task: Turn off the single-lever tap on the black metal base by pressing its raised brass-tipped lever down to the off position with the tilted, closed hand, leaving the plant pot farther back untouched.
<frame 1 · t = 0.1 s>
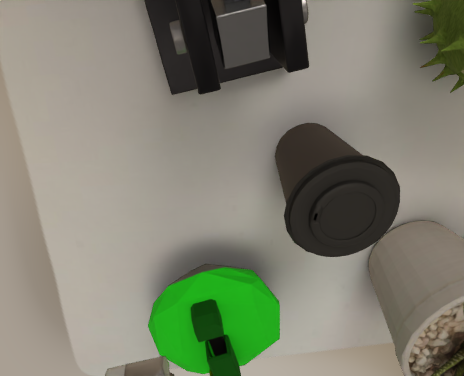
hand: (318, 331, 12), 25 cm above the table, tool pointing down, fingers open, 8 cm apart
potted plant: (405, 256, 45), on the table
coffee cup: (305, 151, 37), on the table
green rounded piece: (211, 283, 43), on the table
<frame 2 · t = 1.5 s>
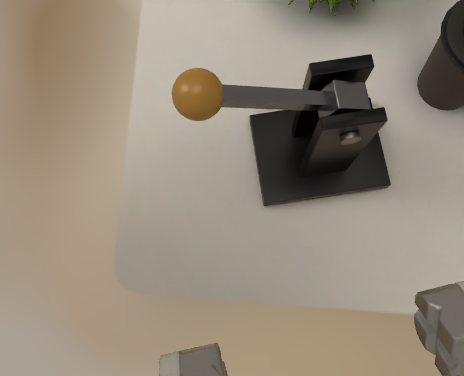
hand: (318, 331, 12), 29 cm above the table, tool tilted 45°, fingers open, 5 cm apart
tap: (316, 152, 43), on the table
coffee cup: (443, 86, 45), on the table
tap lever: (274, 98, 29), point 14 cm above the table, hinge at 25.0°
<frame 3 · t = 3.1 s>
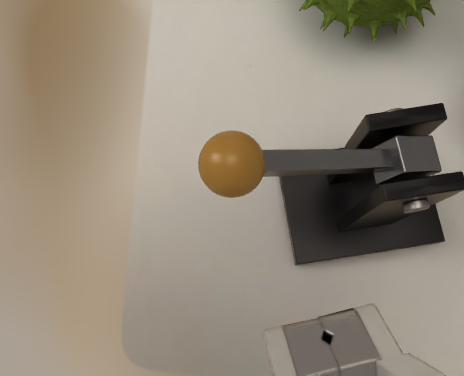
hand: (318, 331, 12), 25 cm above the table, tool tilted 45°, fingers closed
chestnut: (353, 2, 42), on the table
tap: (355, 201, 37), on the table
tap lever: (324, 162, 23), point 14 cm above the table, hinge at 25.0°
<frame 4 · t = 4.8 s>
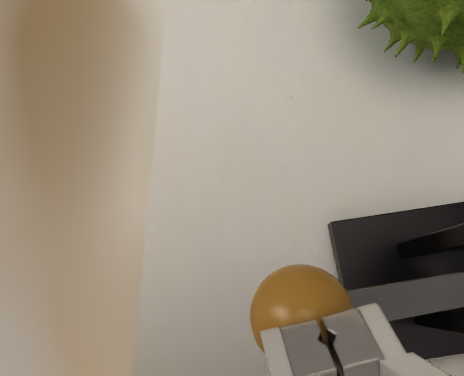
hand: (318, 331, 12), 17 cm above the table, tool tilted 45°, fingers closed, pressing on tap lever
chestnut: (420, 16, 33), on the table
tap: (432, 278, 28), on the table
tap lever: (443, 291, 15), point 14 cm above the table, hinge at 17.0°, touching gripper
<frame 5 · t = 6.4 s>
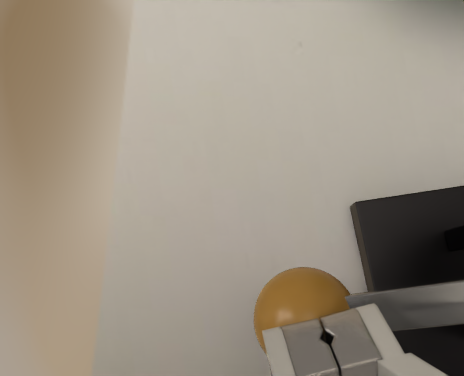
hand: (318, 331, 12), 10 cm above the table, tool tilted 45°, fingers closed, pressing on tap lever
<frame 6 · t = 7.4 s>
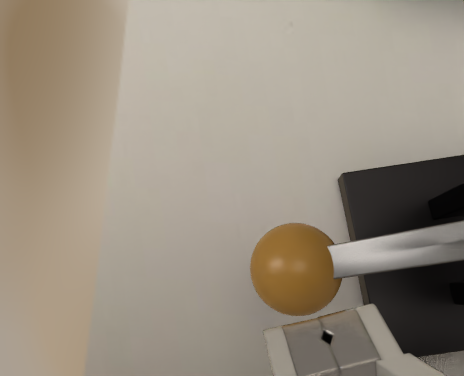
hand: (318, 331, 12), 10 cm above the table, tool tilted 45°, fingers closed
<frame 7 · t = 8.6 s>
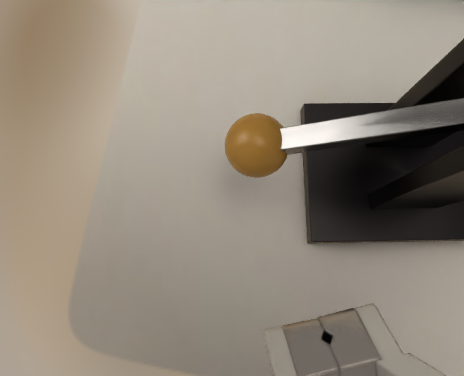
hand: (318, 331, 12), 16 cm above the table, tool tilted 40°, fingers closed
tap: (393, 173, 29), on the table
tap lever: (367, 128, 20), point 9 cm above the table, hinge at -27.9°
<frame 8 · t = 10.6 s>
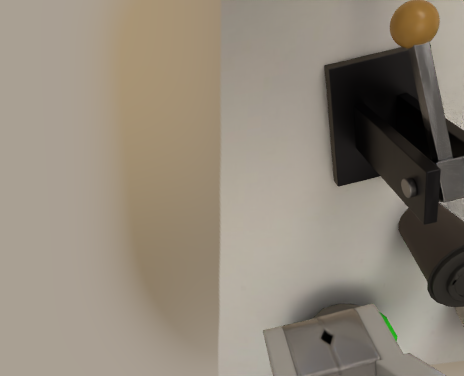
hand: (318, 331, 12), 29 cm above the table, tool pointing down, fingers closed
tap: (375, 116, 41), on the table
coffee cup: (420, 220, 49), on the table
tap lever: (430, 101, 31), point 9 cm above the table, hinge at -27.9°
green rounded piece: (332, 316, 55), on the table
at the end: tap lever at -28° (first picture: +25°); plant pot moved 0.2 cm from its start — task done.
